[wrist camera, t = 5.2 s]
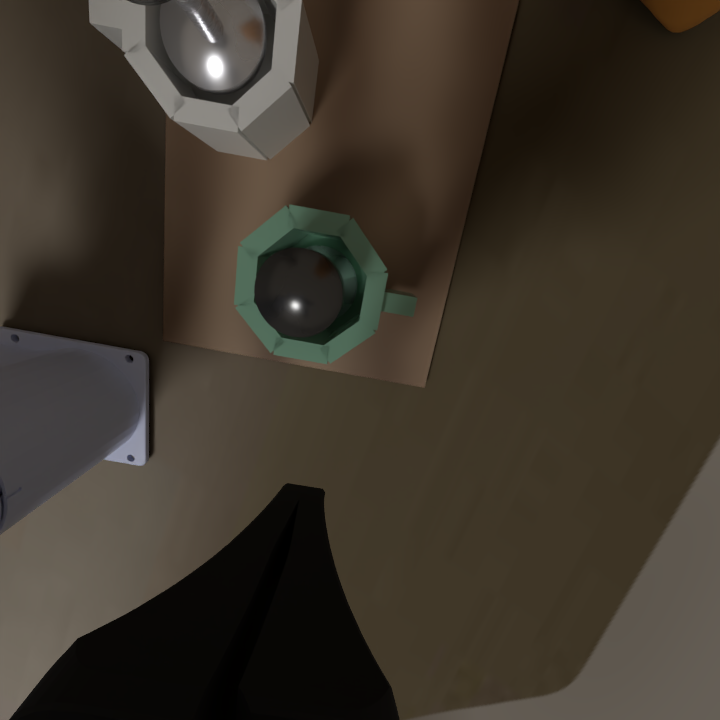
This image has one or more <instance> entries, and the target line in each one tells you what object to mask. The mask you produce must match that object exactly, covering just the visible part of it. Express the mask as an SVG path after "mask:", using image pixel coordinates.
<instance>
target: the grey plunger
mask: <svg viewBox="0 0 720 720" xmlns="http://www.w3.org/2000/svg"><path fill="white" fill-rule="evenodd" d="M127 1H130V2H132V3H135V4H139V5H146V6H153V5H160V4H161V8H160V30H161V36H162V40H163V44H164V47H165V49H166V52H167V54H168V56H169V58H170V60H171V61H172V63H173V64H174V66H175V67H176V68H177V70H178V71H179V72H180V73H181V74H182V75H183V76H184V77H185V78H186V79H187V80H188V81H189V82H190V83H192V84H193V85H194V86H195V87H197V88H199V89H200V90H203V91H205V92H207V93H211V94H217V95H227V94H231V93H234V92H237V91H239V90H241V89H243V88H244V87H246V86H247V85H248V84H249V83H250V82H251V81H252V80H253V79H254V78H255V76H256V75H257V73H258V72H259V70H260V68H261V66H262V63H263V60H264V57H265V53H266V46H267V30H266V24H265V19H264V16H263V12H262V10H261V7H260V5H259V3H258V0H127Z"/></svg>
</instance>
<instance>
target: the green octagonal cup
mask: <svg viewBox="0 0 720 720" xmlns="http://www.w3.org/2000/svg"><path fill="white" fill-rule="evenodd" d="M240 244H241V245H242V246H238V255H237V269H236V283H235V297H234V305H238V306H237V307H236V308H235V309H236V310H237V311H238V312H239V314H240V315H241V316H242V317H243V319H244V320H245V321H246V323H247V324H248V325H249V326H250V328H251V329H252V330H253V331H254V333H255V334H256V335H257V337H258V338H259V339H260V340H261V342H262V343H263V344H264V345H265V347H266V348H267V349H268V350H269V352H270V353H271V352H272V351H274V354H273V355H278V356H283V357H289V358H294V359H300V360H305V361H311V362H317V363H322V364H327V363H328V361H329V363H330V364H331V363H332V362H334V361H335V360H337V359H338V358H340V357H341V356H342V355H344V354H345V353H347V352H348V351H350V350H351V349H353V348H354V347H356V346H357V345H359V344H360V343H362V342H363V341H365V340H366V339H368V338H369V337H371V336H372V335H374V334H375V330H377V329H378V324H379V319H380V313H381V311H383V312H388V313H394V314H399V315H405V316H410V317H413V316H414V311H415V307H416V302H417V297H416V296H415V295H413V294H412V293H408V292H403V291H397V290H392V289H386V282H387V277H388V273H387V272H386V270H387V268H386V267H385V265H384V264H383V262H382V261H381V259H380V257H379V256H378V254H377V253H376V251H375V250H374V248H373V247H372V245H371V244H370V242H369V241H368V239H367V238H366V236H365V235H364V233H363V232H362V230H361V229H360V227H359V226H358V224H357V223H356V221H355V220H354V218H351V216H350V215H345V214H339V213H334V212H328V211H323V210H317V209H312V208H306V207H301V206H296V205H289V207H288V206H284V207H283V208H282V209H281V210H280V211H278V212H277V213H276V214H275V215H273V216H272V217H271V218H270V219H268V220H267V221H266V222H265V223H263V224H262V225H261V226H260V227H259V228H257V229H256V230H255V231H254V232H252V233H251V234H250V235H249V236H247V237H246V238H245V239H244V240H242V241H241V242H240ZM310 246H327V247H330V248H333V249H335V250H337V251H339V252H341V253H342V254H343V255H344V256H345V257H346V258H347V259H348V260H349V261H350V263H351V264H352V266H353V268H354V270H355V273H356V277H357V292H356V296H355V299H354V301H353V303H352V305H351V306H350V308H349V309H348V310H347V311H346V312H345V313H344V314H343V315H342V316H340V317H338V318H337V319H335V320H334V321H333V323H332V324H331V325H330V326H329V327H328V328H326V329H325V330H324V331H322V332H320V333H318V334H316V335H313V336H310V337H292V336H288V335H285V334H282V333H280V332H279V331H277V330H275V329H274V328H272V327H271V326H270V325H269V324H268V323H267V322H266V321H265V319H264V318H263V317H262V315H261V313H260V311H259V310H258V307H257V304H256V300H255V294H254V286H255V280H256V276H257V274H258V271H259V269H260V268H261V266H262V264H263V263H264V262H265V261H266V260H267V259H268V258H269V257H270V256H272V255H273V254H274V253H276V252H278V251H280V250H284V249H287V248H307V247H310Z"/></svg>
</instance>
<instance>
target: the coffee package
mask: <svg viewBox="0 0 720 720" xmlns="http://www.w3.org/2000/svg"><path fill="white" fill-rule="evenodd" d="M640 1H641V2H642V3H643V4H644V5H645V6H646V7H647V8H648V9H649V10H650V11H651V13H652V14H653V15H654V16H655V17H656V19H657V20H658V21H659V22H660V23H661V24H662V25H663V26H664V27H665V28H666V29H667V30H668V31H670V32H674V33H680V32H683V31H686V30H689V29H691V28H693V27H695V26H697V25H698V24H700V23H701V22H703V21H704V20H706V19H707V18H709V17H711V16H712V15H714V14H715V13H717V12H718V11H719V10H720V0H640Z"/></svg>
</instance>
